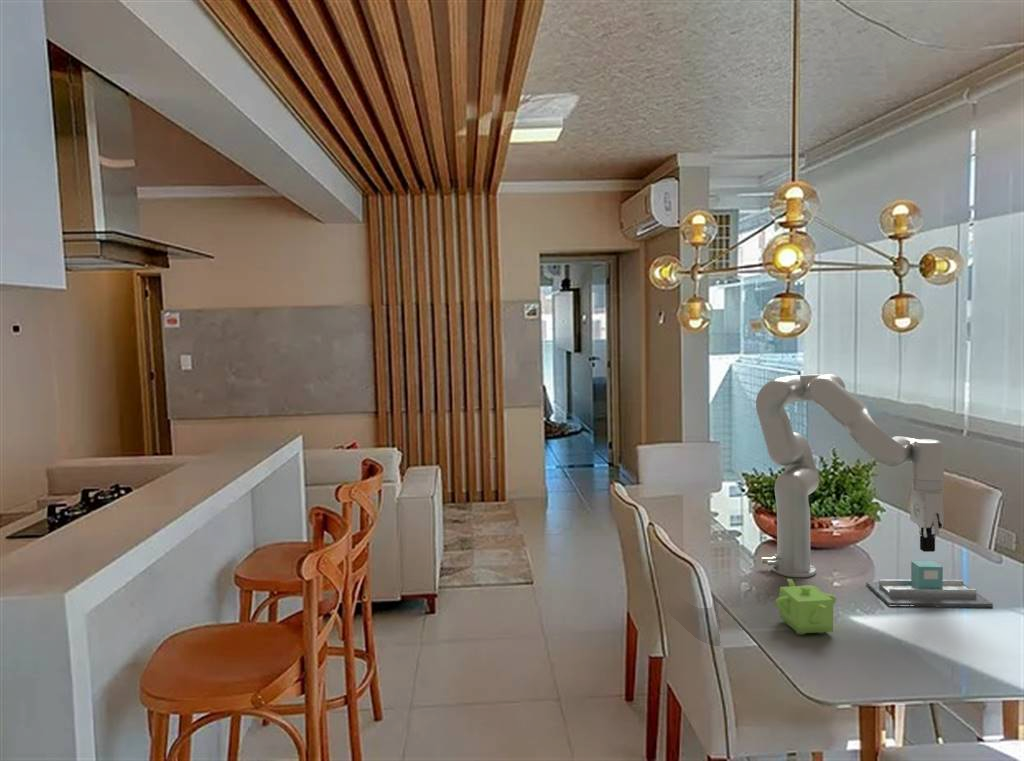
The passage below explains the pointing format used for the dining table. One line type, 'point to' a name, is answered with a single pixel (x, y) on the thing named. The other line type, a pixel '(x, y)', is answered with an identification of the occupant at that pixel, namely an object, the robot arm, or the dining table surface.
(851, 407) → the robot arm
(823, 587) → the dining table surface
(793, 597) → the teapot
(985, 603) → the rail board
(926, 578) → the block
